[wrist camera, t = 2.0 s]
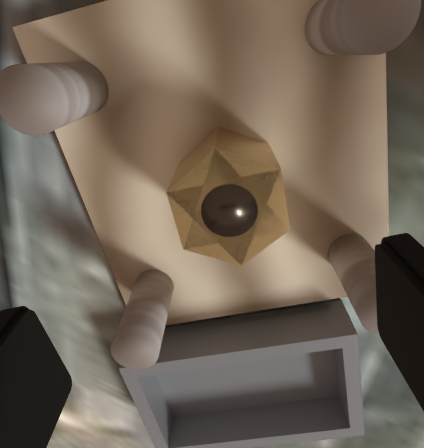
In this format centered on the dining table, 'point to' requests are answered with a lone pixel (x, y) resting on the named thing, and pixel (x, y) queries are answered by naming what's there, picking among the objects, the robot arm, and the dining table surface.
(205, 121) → the spacer board
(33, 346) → the robot arm
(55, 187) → the dining table surface
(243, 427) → the tray
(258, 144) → the tan faceted piece
